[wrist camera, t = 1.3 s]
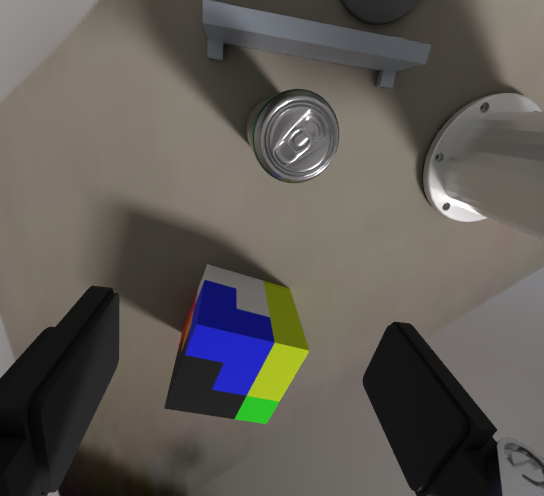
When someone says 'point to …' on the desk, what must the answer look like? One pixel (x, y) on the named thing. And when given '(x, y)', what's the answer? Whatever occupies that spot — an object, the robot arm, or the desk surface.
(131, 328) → the desk surface
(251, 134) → the soda can
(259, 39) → the divider
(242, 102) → the desk surface
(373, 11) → the coaster
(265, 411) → the puzzle toy
